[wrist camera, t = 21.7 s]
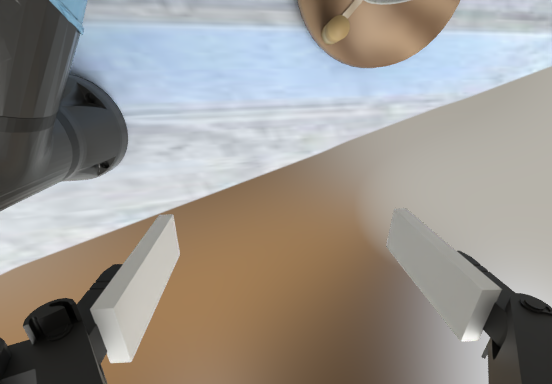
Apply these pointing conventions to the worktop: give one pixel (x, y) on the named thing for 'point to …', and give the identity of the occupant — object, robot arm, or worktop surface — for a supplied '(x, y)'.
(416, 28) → the disc
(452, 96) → the worktop surface
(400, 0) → the ceramic mug
